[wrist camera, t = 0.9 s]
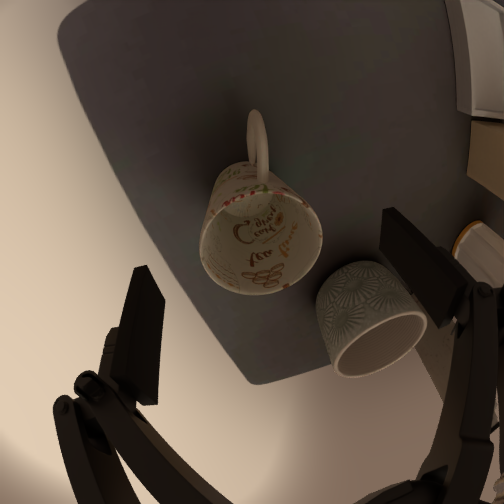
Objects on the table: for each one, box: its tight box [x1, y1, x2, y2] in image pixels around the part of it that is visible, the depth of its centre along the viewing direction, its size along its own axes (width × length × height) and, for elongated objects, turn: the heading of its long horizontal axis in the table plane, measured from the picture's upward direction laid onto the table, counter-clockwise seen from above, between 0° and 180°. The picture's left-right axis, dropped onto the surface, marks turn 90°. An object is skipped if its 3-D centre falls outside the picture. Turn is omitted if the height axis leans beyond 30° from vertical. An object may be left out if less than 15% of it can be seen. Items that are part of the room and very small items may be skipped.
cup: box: [452, 220, 504, 288], centre depth 29 cm, size 11×11×17 cm
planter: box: [316, 261, 427, 378], centre depth 32 cm, size 12×12×11 cm
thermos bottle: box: [411, 293, 499, 434], centre depth 31 cm, size 8×8×28 cm
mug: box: [199, 109, 323, 295], centre depth 21 cm, size 8×13×10 cm, turn 1°
